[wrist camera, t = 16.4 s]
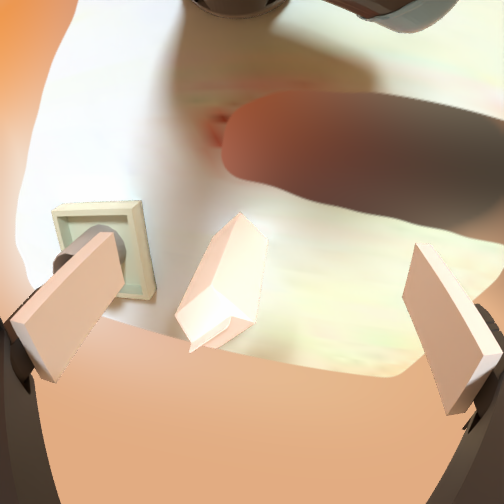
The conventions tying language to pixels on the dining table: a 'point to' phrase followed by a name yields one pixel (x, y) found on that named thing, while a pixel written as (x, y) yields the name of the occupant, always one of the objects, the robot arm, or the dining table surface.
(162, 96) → the dining table surface
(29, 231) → the dining table surface
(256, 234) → the milk
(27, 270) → the dining table surface
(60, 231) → the bin
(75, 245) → the cup
